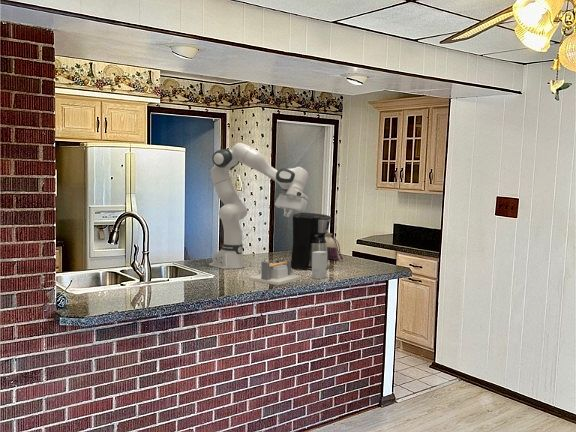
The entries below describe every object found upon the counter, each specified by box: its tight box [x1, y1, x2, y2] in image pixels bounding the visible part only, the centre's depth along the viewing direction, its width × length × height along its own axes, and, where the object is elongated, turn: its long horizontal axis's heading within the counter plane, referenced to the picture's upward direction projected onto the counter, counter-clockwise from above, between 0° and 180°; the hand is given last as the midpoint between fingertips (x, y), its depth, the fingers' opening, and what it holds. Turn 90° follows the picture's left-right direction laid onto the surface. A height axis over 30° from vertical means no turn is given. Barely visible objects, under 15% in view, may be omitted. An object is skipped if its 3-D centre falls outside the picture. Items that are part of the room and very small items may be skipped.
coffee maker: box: [275, 212, 332, 271], centre depth 335 cm, size 23×32×34 cm
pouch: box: [324, 231, 344, 261], centre depth 370 cm, size 25×8×19 cm, turn 57°
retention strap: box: [269, 261, 287, 267], centre depth 299 cm, size 18×3×1 cm, turn 144°
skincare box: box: [311, 251, 328, 280], centre depth 307 cm, size 8×6×15 cm
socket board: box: [248, 258, 303, 286], centre depth 299 cm, size 20×22×11 cm
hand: (286, 216), depth 309 cm, fingers closed
